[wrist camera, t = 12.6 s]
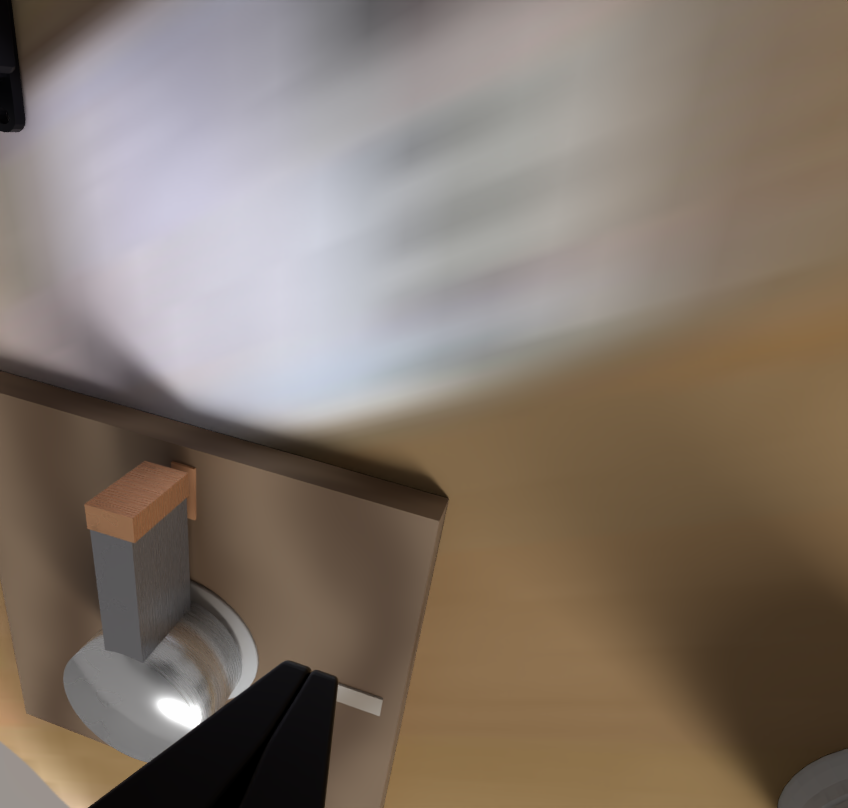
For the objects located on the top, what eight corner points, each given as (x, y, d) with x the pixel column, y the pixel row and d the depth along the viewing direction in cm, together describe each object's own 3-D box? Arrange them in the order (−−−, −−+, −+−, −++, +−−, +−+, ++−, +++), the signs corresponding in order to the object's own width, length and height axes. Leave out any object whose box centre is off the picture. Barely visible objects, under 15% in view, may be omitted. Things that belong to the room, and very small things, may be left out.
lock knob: (242, 714, 28) (199, 782, 25) (126, 673, 29) (72, 734, 26) (244, 483, 22) (190, 536, 19) (101, 443, 23) (30, 487, 20)
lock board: (48, 691, 35) (22, 716, 33) (-5, 369, 26) (-42, 383, 24) (381, 818, 31) (370, 852, 30) (448, 498, 23) (438, 524, 21)
